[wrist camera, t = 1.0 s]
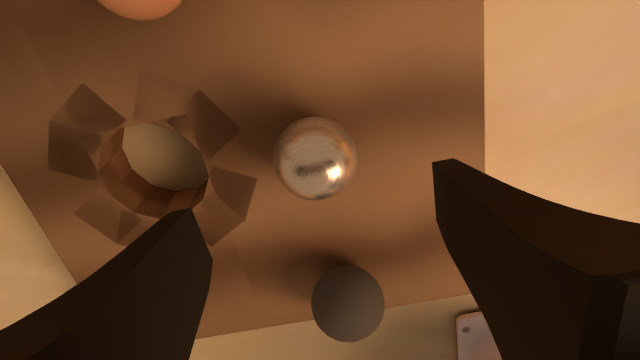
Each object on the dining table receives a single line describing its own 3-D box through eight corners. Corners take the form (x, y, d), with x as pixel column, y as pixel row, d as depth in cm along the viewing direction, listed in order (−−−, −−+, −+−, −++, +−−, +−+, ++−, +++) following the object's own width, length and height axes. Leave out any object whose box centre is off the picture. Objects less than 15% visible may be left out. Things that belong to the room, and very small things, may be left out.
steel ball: (358, 169, 18) (368, 208, 15) (285, 182, 18) (281, 224, 15) (345, 97, 16) (354, 127, 13) (267, 113, 16) (258, 145, 14)
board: (469, 260, 23) (485, 291, 21) (137, 316, 25) (120, 351, 23) (454, -190, 14) (481, -217, 12) (-79, -58, 15) (-144, -61, 13)
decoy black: (382, 296, 21) (394, 352, 18) (318, 307, 21) (320, 364, 18) (373, 245, 20) (385, 296, 17) (304, 257, 20) (303, 310, 17)
